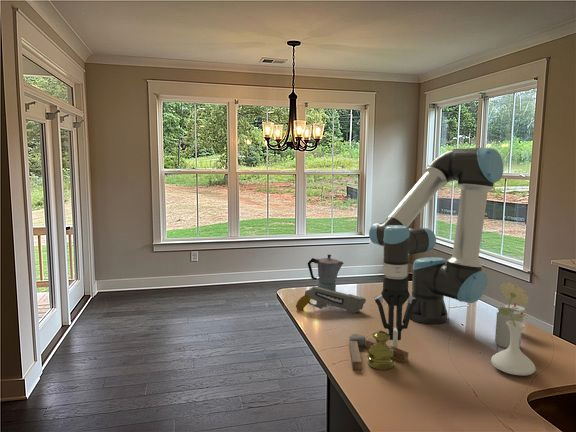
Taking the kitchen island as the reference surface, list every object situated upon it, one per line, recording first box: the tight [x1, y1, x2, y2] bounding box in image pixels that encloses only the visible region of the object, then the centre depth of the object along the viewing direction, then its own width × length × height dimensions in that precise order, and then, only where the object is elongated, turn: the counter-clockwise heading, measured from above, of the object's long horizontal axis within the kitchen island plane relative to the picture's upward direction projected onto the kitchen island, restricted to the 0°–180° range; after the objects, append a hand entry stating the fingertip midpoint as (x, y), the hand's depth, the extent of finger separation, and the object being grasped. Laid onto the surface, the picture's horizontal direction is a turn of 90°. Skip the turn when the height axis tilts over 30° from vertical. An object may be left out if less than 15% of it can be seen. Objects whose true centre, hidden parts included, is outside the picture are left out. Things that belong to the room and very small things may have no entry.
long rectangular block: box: [365, 337, 409, 363], centre depth 130 cm, size 2×14×2 cm, turn 42°
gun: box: [295, 285, 367, 314], centre depth 168 cm, size 3×25×15 cm, turn 87°
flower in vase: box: [490, 281, 537, 376], centre depth 120 cm, size 13×11×25 cm
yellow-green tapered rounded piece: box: [367, 330, 395, 371], centre depth 123 cm, size 7×7×10 cm
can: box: [494, 307, 524, 350], centre depth 136 cm, size 8×8×12 cm
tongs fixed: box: [348, 333, 367, 371], centre depth 129 cm, size 5×20×2 cm, turn 176°
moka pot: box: [307, 254, 344, 292], centre depth 181 cm, size 10×15×20 cm, turn 89°
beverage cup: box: [504, 303, 526, 315], centre depth 147 cm, size 6×6×14 cm
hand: (394, 349), depth 131 cm, fingers closed
